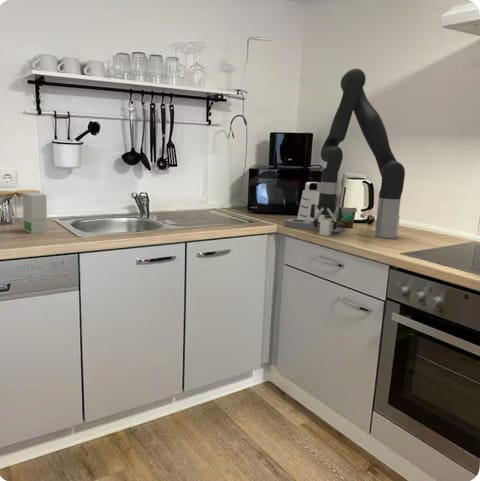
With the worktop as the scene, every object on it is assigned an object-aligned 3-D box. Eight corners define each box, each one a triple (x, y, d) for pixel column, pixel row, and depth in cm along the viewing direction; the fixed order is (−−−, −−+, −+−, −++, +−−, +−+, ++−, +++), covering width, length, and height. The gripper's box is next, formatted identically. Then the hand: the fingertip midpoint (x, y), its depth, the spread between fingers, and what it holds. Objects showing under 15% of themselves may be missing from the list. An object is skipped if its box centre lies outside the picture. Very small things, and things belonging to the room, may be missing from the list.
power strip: (329, 229, 215) (330, 222, 214) (324, 232, 207) (324, 224, 206) (290, 224, 224) (291, 217, 223) (283, 226, 216) (284, 220, 215)
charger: (330, 234, 203) (332, 218, 201) (328, 235, 199) (329, 219, 198) (322, 233, 205) (323, 217, 203) (319, 234, 201) (320, 218, 200)
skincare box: (23, 230, 185) (21, 192, 182) (39, 228, 190) (37, 192, 187) (32, 233, 180) (30, 194, 176) (48, 232, 184) (46, 194, 181)
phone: (345, 230, 213) (345, 228, 213) (338, 234, 203) (338, 232, 202) (332, 228, 216) (333, 226, 216) (325, 232, 205) (325, 230, 205)
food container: (327, 226, 222) (329, 206, 220) (331, 224, 227) (332, 205, 225) (352, 229, 216) (354, 208, 214) (355, 227, 222) (357, 207, 220)
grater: (297, 219, 241) (299, 181, 236) (313, 218, 245) (316, 181, 241) (307, 222, 231) (310, 183, 227) (324, 221, 236) (327, 183, 232)
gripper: (346, 193, 198) (343, 229, 202) (315, 190, 205) (312, 225, 208) (341, 194, 192) (338, 232, 195) (309, 191, 198) (307, 227, 202)
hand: (325, 228), depth 202 cm, fingers open, 8 cm apart
